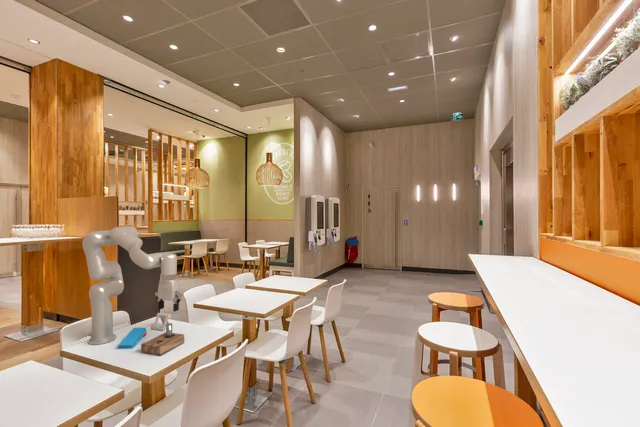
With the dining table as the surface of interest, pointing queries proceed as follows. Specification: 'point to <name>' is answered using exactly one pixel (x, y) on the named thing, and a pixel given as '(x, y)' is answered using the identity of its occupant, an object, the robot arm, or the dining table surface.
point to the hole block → (162, 344)
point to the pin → (169, 330)
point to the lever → (132, 338)
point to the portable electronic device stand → (164, 320)
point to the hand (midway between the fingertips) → (168, 309)
